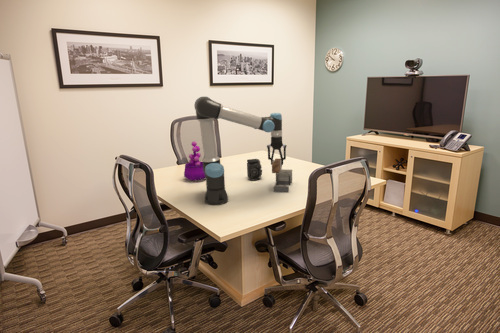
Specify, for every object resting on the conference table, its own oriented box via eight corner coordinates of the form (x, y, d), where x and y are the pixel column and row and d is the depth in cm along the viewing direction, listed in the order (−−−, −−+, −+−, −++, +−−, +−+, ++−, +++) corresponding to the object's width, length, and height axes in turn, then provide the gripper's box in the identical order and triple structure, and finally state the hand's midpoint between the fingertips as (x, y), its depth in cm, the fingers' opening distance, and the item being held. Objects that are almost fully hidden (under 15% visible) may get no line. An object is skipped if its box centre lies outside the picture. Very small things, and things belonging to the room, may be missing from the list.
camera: (263, 180, 249) (262, 161, 245) (249, 181, 247) (248, 162, 243) (260, 176, 259) (259, 157, 255) (247, 177, 257) (246, 158, 253)
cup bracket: (274, 184, 238) (274, 171, 235) (275, 182, 244) (275, 169, 241) (291, 185, 236) (291, 171, 233) (292, 182, 241) (292, 169, 239)
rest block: (273, 191, 224) (273, 186, 223) (274, 189, 228) (274, 184, 227) (288, 192, 222) (288, 187, 221) (288, 190, 226) (288, 184, 225)
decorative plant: (190, 175, 267) (187, 138, 259) (211, 176, 263) (209, 139, 255) (180, 182, 249) (177, 143, 241) (204, 183, 246) (201, 144, 238)
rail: (272, 173, 223) (271, 164, 221) (275, 166, 238) (275, 158, 236) (278, 173, 222) (278, 164, 220) (281, 166, 236) (281, 158, 235)
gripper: (262, 137, 221) (263, 170, 227) (289, 137, 218) (289, 170, 224) (264, 135, 228) (265, 167, 235) (290, 135, 225) (290, 167, 231)
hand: (277, 169), depth 229 cm, fingers closed on rail, 5 cm apart
